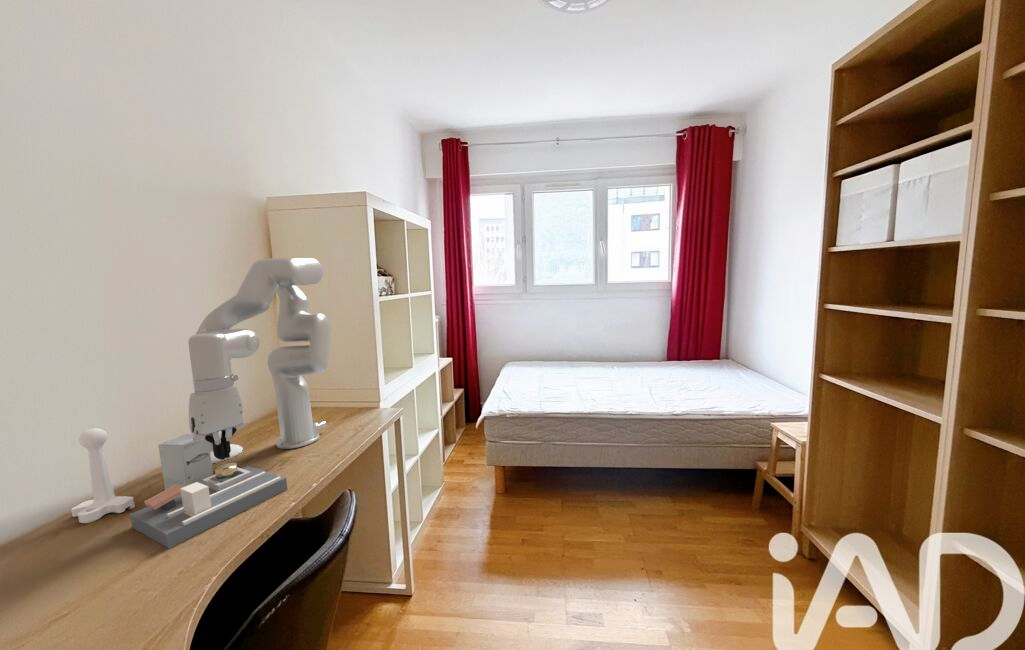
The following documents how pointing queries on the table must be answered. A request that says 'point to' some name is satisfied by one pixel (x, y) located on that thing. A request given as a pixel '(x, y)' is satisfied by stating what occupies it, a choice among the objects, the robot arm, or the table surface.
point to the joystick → (99, 482)
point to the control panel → (226, 502)
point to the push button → (226, 470)
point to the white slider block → (195, 498)
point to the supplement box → (185, 461)
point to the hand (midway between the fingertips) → (222, 457)
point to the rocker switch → (164, 497)
